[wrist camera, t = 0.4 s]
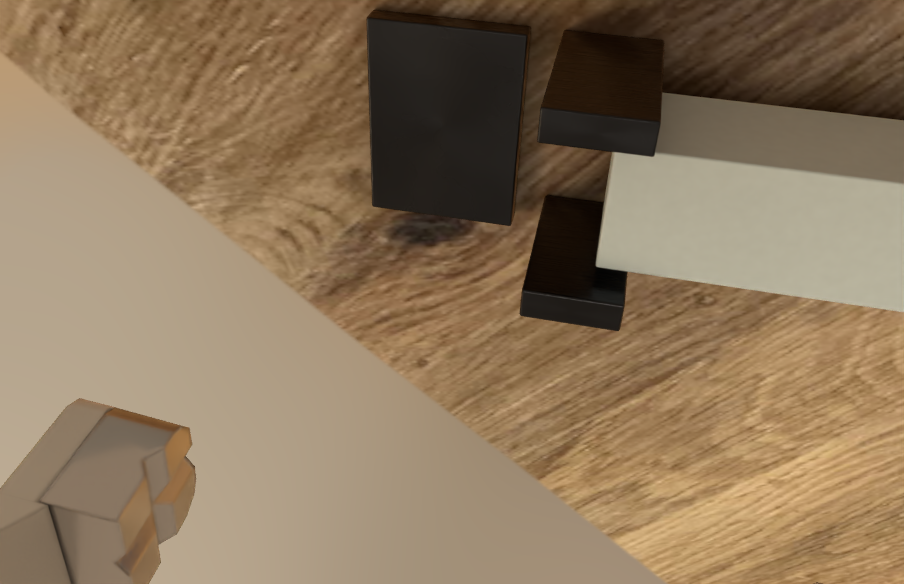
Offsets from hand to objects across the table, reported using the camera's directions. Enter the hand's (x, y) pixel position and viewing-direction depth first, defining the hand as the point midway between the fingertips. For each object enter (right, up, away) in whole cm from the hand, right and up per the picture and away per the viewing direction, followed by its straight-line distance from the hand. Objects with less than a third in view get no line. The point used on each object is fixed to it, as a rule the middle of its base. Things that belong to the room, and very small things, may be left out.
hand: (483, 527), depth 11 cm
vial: (+13, +6, +15) cm, 21 cm away
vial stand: (+1, +9, +17) cm, 19 cm away
